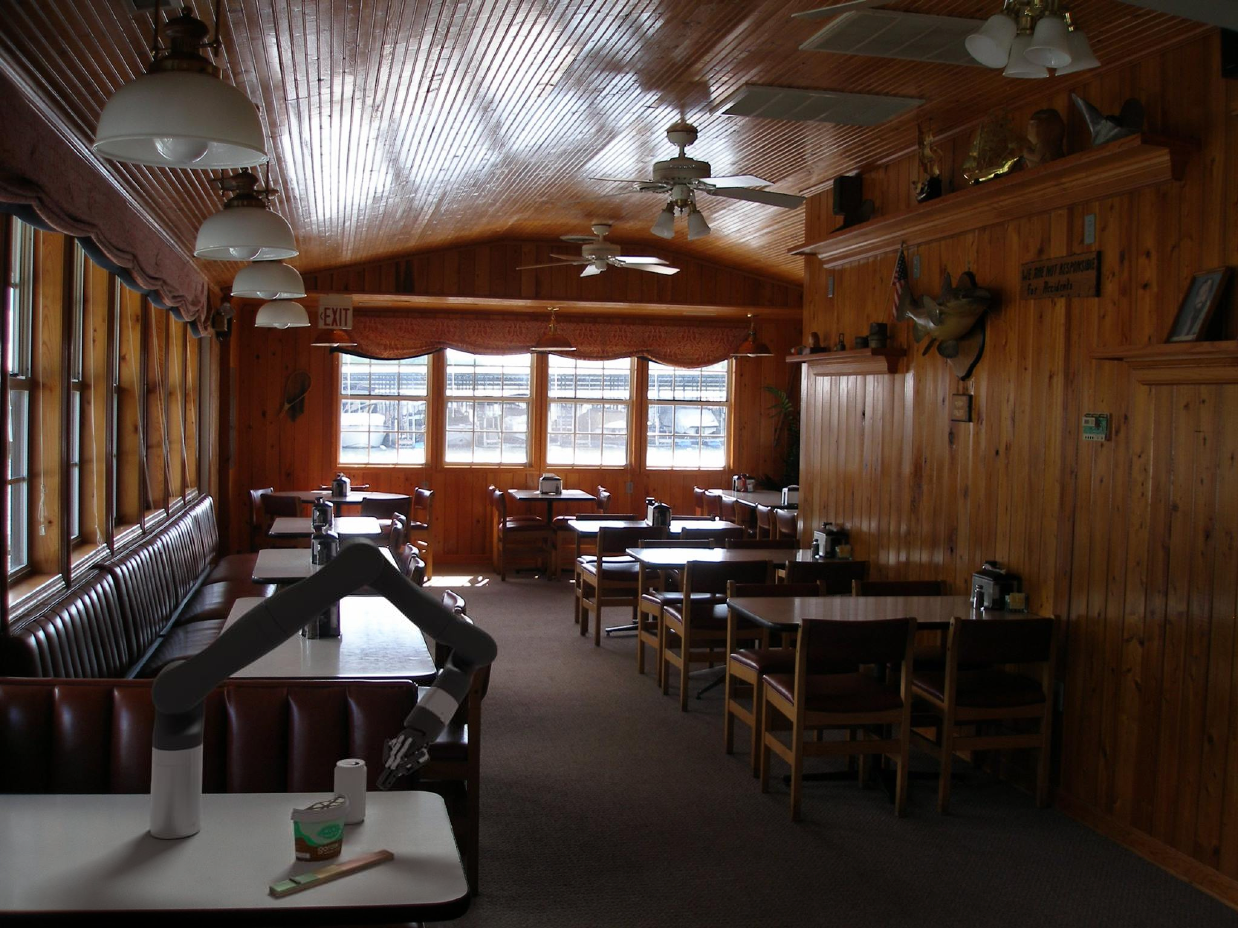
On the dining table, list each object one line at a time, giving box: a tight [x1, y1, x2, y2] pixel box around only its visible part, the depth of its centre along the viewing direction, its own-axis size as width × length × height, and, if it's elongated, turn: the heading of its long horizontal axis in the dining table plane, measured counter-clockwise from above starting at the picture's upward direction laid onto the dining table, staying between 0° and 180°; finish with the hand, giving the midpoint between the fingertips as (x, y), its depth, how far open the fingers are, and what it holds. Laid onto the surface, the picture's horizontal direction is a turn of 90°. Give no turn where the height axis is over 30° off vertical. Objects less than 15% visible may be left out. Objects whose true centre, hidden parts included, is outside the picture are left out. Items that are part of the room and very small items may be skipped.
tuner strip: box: [268, 848, 395, 898], centre depth 192 cm, size 3×24×2 cm, turn 139°
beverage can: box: [333, 758, 368, 825], centre depth 220 cm, size 6×6×12 cm
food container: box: [290, 793, 350, 863], centre depth 201 cm, size 12×6×10 cm, turn 148°
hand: (380, 787), depth 210 cm, fingers closed
